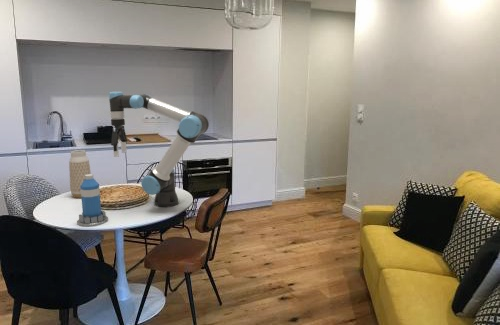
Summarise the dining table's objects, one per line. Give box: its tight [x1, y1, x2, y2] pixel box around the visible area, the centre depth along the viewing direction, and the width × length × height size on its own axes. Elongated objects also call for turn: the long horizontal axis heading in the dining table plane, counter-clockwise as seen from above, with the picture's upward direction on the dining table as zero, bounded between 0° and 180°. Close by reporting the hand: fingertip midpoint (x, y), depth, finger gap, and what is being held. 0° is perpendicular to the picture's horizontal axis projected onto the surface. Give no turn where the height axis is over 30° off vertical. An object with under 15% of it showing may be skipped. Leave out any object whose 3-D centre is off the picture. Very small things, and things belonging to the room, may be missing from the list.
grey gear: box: [76, 209, 109, 228], centre depth 217 cm, size 16×16×5 cm
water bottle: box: [80, 173, 102, 217], centre depth 215 cm, size 9×9×25 cm
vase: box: [68, 149, 92, 199], centre depth 265 cm, size 14×14×31 cm
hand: (120, 154), depth 236 cm, fingers open, 13 cm apart
